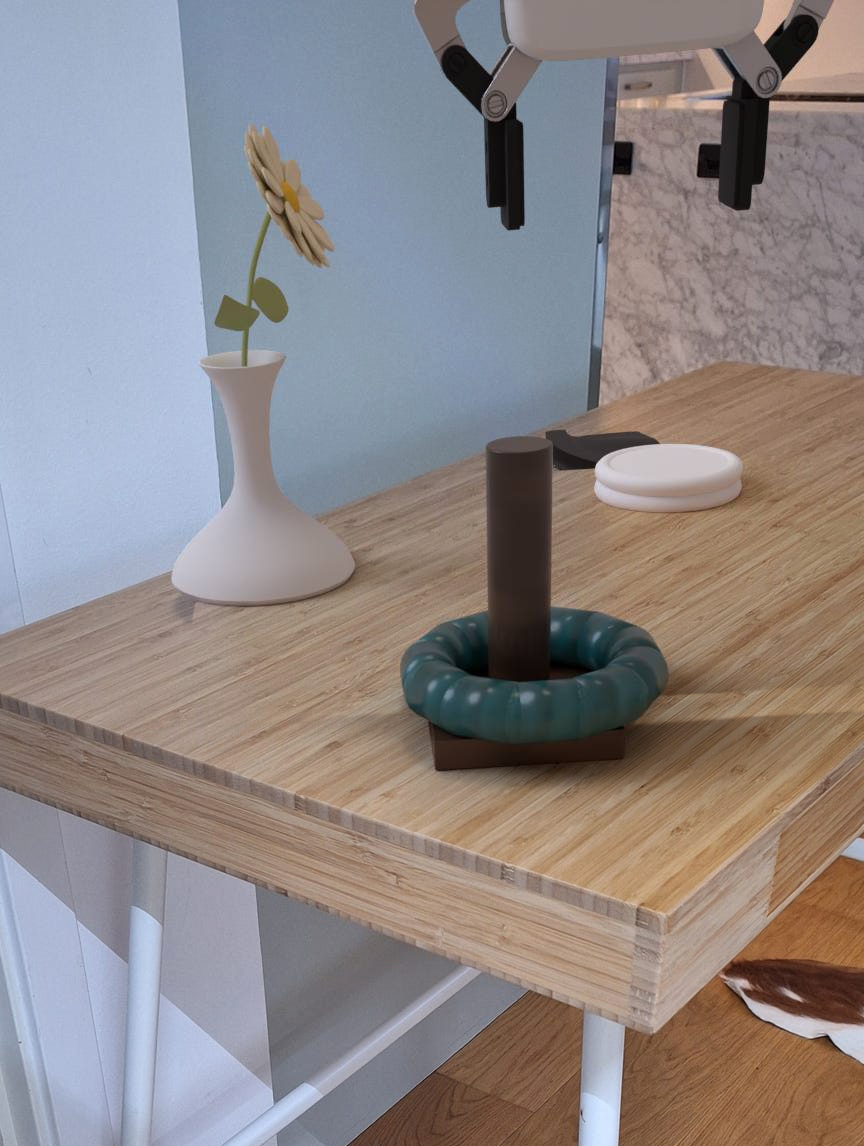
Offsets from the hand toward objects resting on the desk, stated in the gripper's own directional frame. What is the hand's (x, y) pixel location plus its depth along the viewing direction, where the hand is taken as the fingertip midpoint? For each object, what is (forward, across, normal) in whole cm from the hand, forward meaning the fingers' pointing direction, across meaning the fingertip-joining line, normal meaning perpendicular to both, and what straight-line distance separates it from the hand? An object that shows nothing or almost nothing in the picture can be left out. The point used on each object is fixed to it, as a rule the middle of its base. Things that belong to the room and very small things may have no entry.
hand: (623, 216), depth 64 cm
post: (+22, -5, -3) cm, 23 cm away
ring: (+19, -5, -4) cm, 20 cm away
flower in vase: (+22, -18, +20) cm, 35 cm away
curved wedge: (+22, +7, +44) cm, 50 cm away
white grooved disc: (+22, +9, +32) cm, 40 cm away
